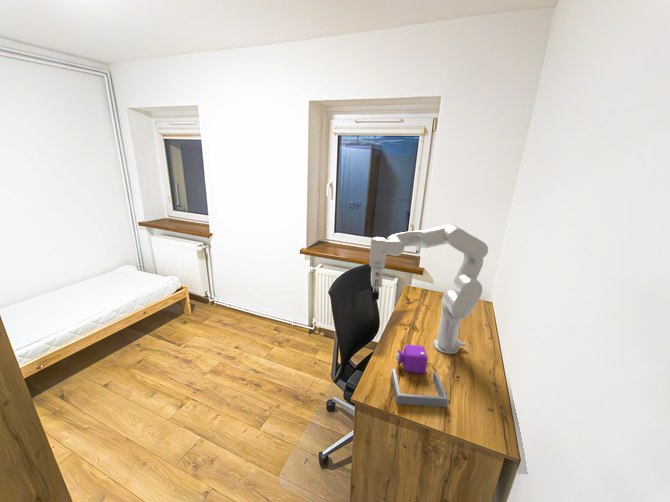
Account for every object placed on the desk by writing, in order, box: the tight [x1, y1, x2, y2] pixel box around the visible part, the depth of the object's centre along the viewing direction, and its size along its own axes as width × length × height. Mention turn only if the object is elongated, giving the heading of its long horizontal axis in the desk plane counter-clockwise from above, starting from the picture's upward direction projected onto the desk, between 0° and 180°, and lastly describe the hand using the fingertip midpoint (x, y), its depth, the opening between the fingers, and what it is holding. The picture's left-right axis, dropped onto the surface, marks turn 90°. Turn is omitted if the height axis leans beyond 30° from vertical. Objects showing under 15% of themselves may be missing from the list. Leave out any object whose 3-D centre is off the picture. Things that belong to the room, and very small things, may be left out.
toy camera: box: [395, 344, 428, 375], centre depth 132 cm, size 11×14×10 cm
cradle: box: [391, 368, 449, 408], centre depth 118 cm, size 19×15×4 cm
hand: (374, 295), depth 142 cm, fingers open, 9 cm apart
